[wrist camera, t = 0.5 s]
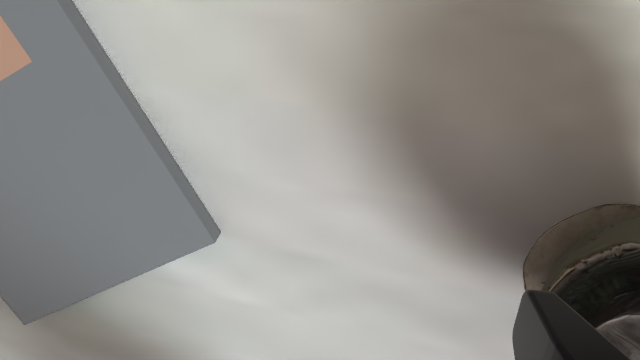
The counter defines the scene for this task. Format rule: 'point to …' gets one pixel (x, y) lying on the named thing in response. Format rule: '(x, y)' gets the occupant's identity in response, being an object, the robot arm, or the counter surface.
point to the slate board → (80, 169)
